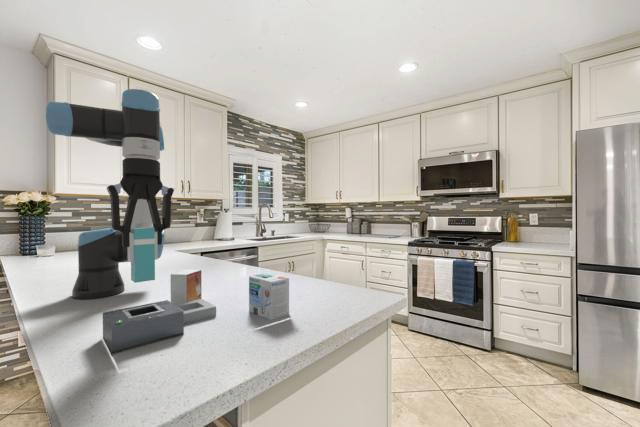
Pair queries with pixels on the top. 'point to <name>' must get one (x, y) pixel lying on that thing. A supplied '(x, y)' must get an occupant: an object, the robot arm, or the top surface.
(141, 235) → the plug
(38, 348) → the top surface
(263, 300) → the light bulb box
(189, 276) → the small box
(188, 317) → the holster
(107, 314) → the port panel
